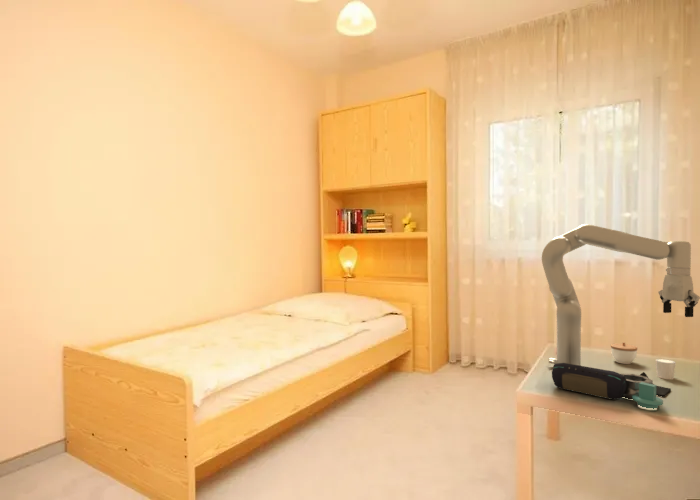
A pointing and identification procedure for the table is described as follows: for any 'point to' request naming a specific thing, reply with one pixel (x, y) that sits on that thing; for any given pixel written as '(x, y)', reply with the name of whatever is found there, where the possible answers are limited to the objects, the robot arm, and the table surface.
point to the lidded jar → (624, 353)
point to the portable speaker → (589, 380)
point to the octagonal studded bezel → (634, 384)
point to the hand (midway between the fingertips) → (677, 314)
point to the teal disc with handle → (647, 396)
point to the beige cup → (665, 368)
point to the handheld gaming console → (659, 388)
